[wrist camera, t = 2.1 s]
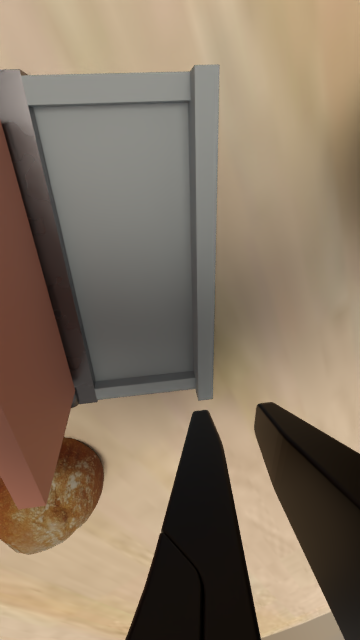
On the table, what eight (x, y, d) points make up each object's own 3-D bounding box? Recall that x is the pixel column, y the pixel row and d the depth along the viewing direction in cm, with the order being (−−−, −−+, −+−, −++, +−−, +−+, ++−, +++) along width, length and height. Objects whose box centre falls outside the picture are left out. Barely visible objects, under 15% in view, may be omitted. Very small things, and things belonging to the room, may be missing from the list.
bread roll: (63, 472, 33) (82, 553, 28) (-52, 492, 26) (-53, 605, 21) (105, 414, 30) (136, 494, 25) (-13, 418, 23) (-4, 532, 18)
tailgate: (0, 119, 13) (-142, 91, 6) (75, 390, 20) (46, 505, 14) (-38, 120, 13) (-223, 93, 6) (51, 392, 20) (11, 510, 14)
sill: (33, 78, 14) (15, 66, 12) (100, 382, 23) (96, 407, 21) (-17, 79, 14) (-45, 67, 12) (70, 386, 23) (63, 411, 21)
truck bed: (204, 79, 15) (219, 64, 12) (203, 369, 24) (212, 398, 21) (35, 84, 14) (10, 69, 11) (99, 380, 23) (94, 412, 20)
